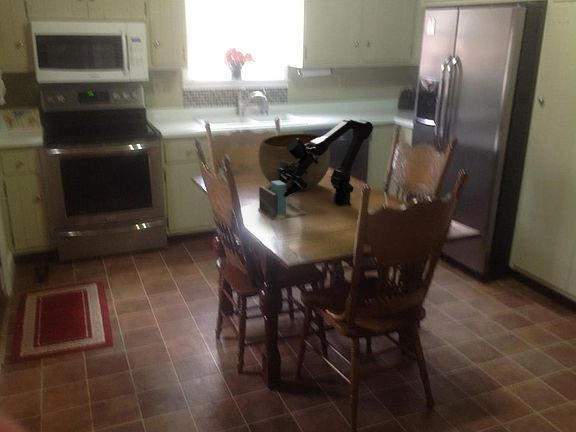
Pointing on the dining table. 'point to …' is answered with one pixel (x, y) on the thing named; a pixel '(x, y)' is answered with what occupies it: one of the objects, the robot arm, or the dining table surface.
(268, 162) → the brown bowl
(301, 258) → the dining table surface
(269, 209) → the grey l-shaped bracket
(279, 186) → the tall teal pillar
